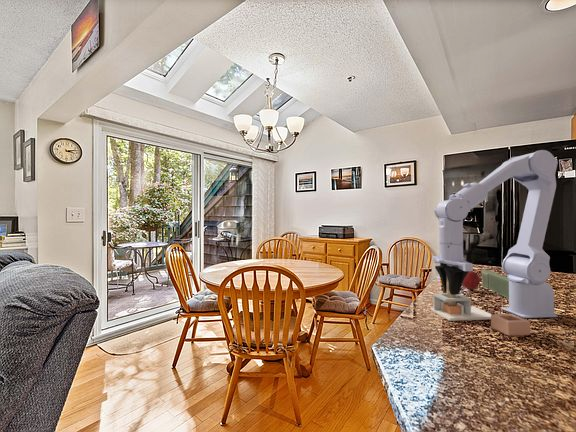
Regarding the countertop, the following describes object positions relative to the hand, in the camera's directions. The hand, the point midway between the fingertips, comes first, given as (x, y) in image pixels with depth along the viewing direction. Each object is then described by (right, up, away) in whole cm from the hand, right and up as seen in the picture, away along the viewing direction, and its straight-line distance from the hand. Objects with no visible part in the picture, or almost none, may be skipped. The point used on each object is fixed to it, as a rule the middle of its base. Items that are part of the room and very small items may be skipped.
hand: (451, 292), depth 80 cm
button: (0, -5, 0) cm, 5 cm away
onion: (+21, -6, +25) cm, 33 cm away
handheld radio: (+28, -6, +19) cm, 35 cm away
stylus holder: (+7, -6, -12) cm, 15 cm away
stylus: (0, -3, 0) cm, 3 cm away
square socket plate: (+4, -6, 0) cm, 7 cm away
